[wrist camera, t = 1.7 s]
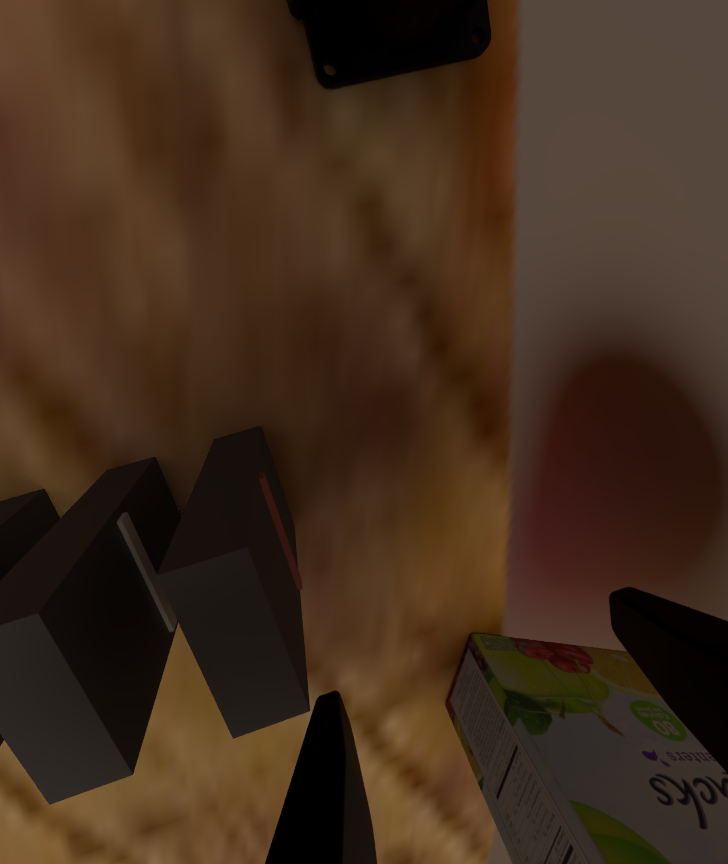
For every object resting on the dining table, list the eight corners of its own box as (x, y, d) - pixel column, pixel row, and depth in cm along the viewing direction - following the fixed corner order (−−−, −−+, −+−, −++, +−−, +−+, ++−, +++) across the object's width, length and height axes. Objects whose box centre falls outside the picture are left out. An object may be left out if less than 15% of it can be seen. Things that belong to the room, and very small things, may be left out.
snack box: (758, 656, 30) (1197, 981, 16) (721, 724, 31) (1096, 1083, 17) (469, 624, 25) (733, 1068, 11) (438, 708, 26) (637, 1205, 12)
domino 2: (263, 424, 20) (254, 544, 10) (297, 524, 21) (315, 708, 12) (214, 439, 19) (156, 575, 10) (251, 539, 21) (232, 738, 11)
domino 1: (158, 455, 19) (45, 610, 10) (201, 555, 21) (139, 772, 11) (106, 470, 19) (-62, 644, 9) (153, 570, 20) (49, 804, 11)
